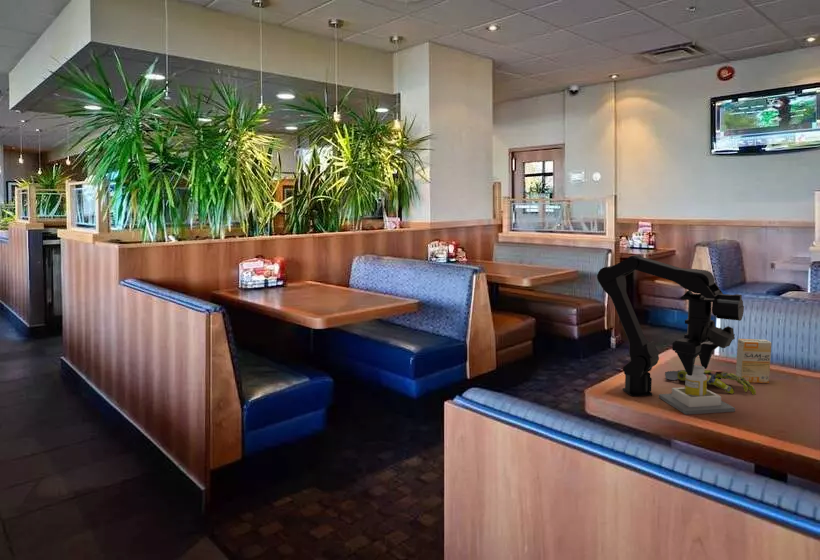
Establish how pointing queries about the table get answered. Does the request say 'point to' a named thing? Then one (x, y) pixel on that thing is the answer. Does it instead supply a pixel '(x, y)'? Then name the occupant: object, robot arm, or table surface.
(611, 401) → the table surface
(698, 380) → the supplement bottle
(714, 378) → the robotic hand
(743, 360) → the supplement box
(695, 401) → the socket holder
